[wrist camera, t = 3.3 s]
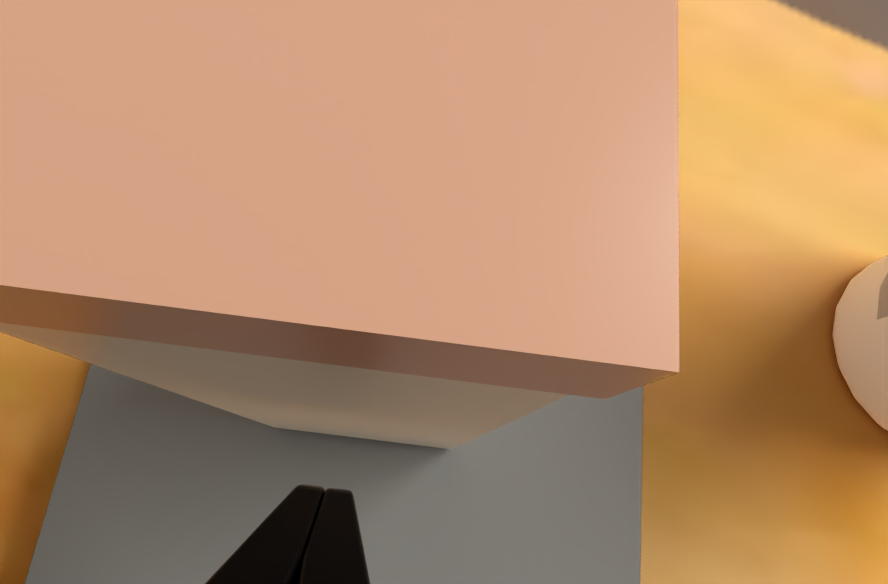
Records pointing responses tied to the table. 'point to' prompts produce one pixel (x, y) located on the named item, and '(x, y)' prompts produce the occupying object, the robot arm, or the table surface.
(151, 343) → the tall rectangular pillar
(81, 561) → the base board
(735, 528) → the table surface
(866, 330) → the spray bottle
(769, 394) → the table surface
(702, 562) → the table surface
